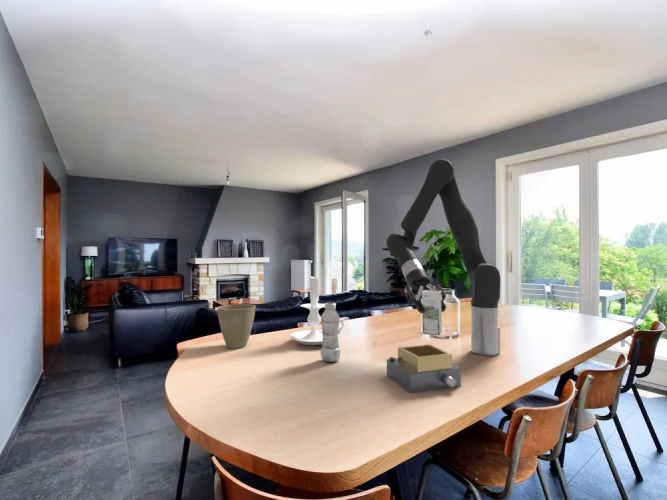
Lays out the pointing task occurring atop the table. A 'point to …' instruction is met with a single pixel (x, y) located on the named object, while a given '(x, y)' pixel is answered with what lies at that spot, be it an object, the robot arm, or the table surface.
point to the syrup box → (432, 312)
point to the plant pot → (236, 324)
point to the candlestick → (312, 318)
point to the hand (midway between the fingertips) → (433, 311)
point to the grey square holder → (423, 369)
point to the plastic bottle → (330, 333)
